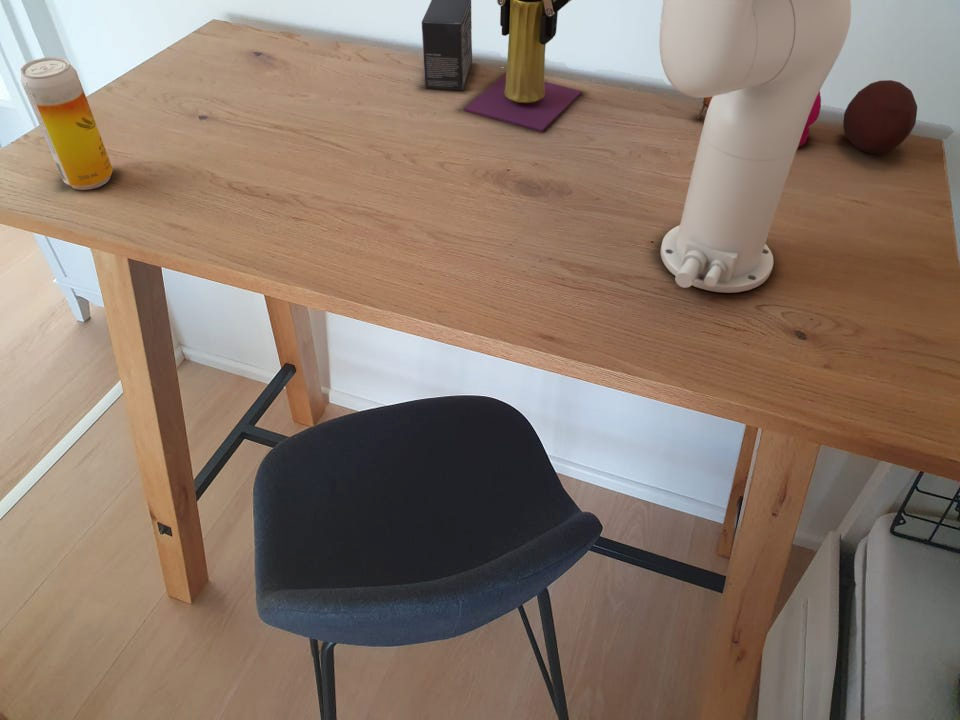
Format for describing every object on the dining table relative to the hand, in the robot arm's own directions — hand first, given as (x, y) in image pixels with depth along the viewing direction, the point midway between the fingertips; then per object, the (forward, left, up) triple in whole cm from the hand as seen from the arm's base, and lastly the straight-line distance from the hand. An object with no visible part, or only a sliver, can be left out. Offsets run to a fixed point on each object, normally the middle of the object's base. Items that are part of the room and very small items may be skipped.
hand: (527, 35), depth 109 cm
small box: (+2, +15, -10) cm, 18 cm away
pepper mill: (+9, -37, -10) cm, 39 cm away
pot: (+10, -27, -10) cm, 30 cm away
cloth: (0, 0, -10) cm, 10 cm away
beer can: (-48, +39, -10) cm, 63 cm away
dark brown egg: (+12, -48, -10) cm, 50 cm away
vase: (0, 0, -9) cm, 9 cm away
